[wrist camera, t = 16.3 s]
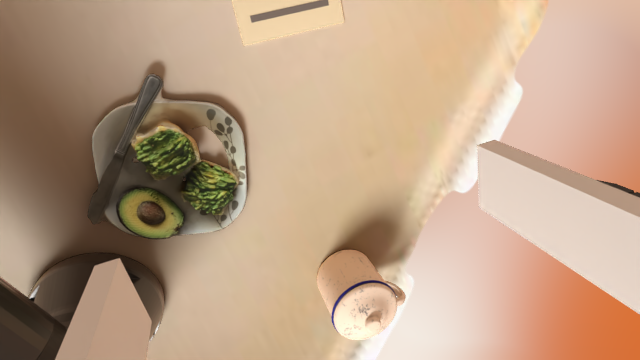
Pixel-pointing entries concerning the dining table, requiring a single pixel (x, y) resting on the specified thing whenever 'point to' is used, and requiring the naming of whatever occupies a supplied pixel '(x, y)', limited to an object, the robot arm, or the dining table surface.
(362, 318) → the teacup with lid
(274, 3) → the letter
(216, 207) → the salad plate
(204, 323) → the dining table surface
